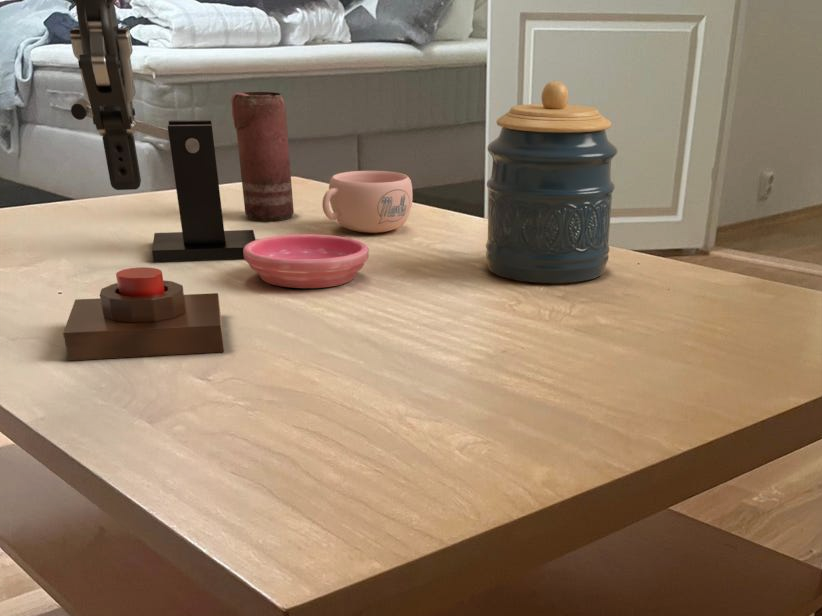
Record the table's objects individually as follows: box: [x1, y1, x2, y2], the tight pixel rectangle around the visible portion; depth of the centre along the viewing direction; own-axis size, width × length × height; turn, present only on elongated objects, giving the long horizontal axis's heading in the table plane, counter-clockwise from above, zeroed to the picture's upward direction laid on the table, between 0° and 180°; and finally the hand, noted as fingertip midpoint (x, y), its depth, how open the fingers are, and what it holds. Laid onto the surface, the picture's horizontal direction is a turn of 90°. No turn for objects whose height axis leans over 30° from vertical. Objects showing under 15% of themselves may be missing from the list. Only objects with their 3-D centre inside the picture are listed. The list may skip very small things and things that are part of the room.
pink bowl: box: [243, 233, 370, 289], centre depth 101 cm, size 12×12×3 cm
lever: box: [70, 98, 170, 142], centre depth 104 cm, size 13×5×2 cm, turn 104°
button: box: [115, 266, 165, 297], centre depth 82 cm, size 4×4×2 cm
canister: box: [485, 80, 618, 284], centre depth 102 cm, size 13×13×18 cm
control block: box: [62, 279, 225, 362], centre depth 83 cm, size 12×10×4 cm
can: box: [230, 91, 295, 222], centre depth 124 cm, size 6×6×14 cm
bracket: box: [151, 119, 257, 263], centre depth 108 cm, size 11×9×13 cm
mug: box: [321, 170, 414, 234], centre depth 120 cm, size 12×10×6 cm
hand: (126, 187), depth 78 cm, fingers closed
